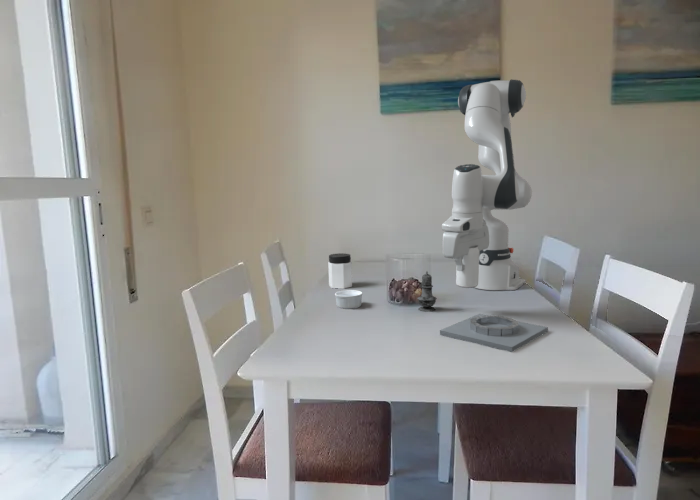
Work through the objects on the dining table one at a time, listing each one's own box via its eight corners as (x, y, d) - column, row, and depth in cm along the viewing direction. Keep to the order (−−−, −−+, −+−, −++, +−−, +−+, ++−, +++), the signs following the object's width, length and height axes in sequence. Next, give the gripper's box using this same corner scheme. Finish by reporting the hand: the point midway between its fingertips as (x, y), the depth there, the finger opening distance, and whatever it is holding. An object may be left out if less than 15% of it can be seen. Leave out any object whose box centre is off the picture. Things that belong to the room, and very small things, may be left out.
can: (451, 283, 152) (452, 244, 150) (470, 281, 154) (470, 242, 152) (464, 289, 146) (464, 248, 144) (482, 286, 149) (483, 246, 146)
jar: (354, 287, 188) (353, 256, 186) (333, 289, 186) (332, 257, 184) (347, 283, 197) (346, 252, 195) (327, 284, 194) (326, 254, 192)
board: (479, 317, 146) (479, 313, 146) (547, 331, 132) (547, 327, 132) (439, 334, 132) (439, 330, 132) (511, 352, 118) (511, 347, 118)
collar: (484, 319, 140) (485, 313, 140) (526, 327, 132) (526, 321, 132) (461, 329, 132) (461, 322, 132) (504, 339, 124) (504, 332, 123)
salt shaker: (436, 312, 153) (436, 273, 151) (416, 311, 154) (416, 273, 152) (436, 307, 159) (436, 269, 157) (418, 306, 160) (417, 269, 158)
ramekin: (330, 308, 161) (329, 294, 161) (343, 301, 169) (343, 288, 168) (355, 310, 157) (354, 297, 157) (367, 304, 165) (367, 291, 164)
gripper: (476, 216, 156) (475, 260, 158) (438, 225, 141) (438, 273, 144) (495, 218, 151) (494, 263, 154) (457, 226, 137) (457, 276, 140)
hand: (467, 268), depth 149 cm, fingers closed on can, 6 cm apart
